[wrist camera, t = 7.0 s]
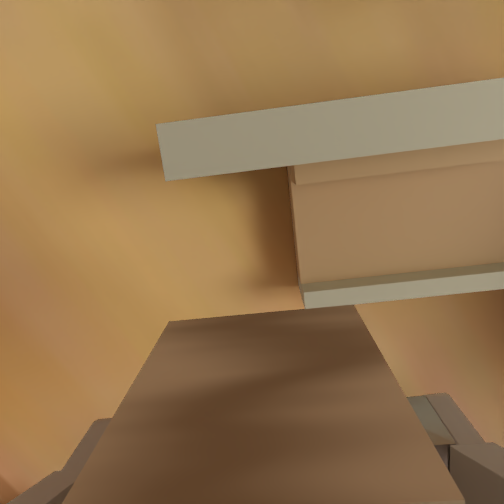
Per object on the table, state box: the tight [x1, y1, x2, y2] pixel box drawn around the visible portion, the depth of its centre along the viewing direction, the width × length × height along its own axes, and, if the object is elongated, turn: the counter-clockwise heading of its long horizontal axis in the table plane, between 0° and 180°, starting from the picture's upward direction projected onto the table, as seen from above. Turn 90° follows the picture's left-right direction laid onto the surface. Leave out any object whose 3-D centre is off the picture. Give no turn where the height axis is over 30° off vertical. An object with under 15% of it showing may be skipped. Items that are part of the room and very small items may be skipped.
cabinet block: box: [62, 305, 465, 504], centre depth 8 cm, size 5×5×6 cm
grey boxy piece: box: [156, 78, 504, 309], centre depth 19 cm, size 22×10×10 cm, turn 97°
